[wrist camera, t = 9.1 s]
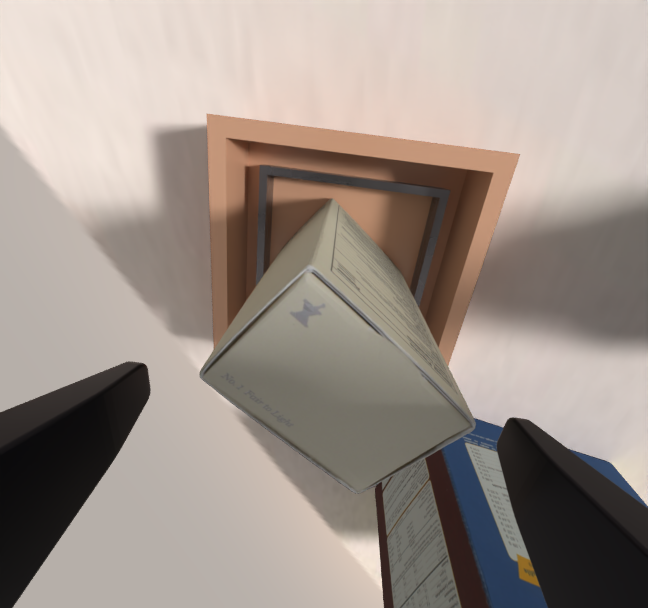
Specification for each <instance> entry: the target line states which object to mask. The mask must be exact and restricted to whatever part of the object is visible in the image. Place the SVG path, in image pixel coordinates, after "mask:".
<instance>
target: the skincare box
mask: <svg viewBox="0 0 648 608" xmlns="http://www.w3.org/2000/svg"><path fill="white" fill-rule="evenodd" d="M200 378H201V379H202V380H203V381H204V382H206V383H207V384H208V385H210V386H211V387H212V388H214V389H215V390H216V391H217V392H218V393H219V394H221V395H222V396H223V397H225V398H226V399H227V400H228V401H230V402H231V403H232V404H233V405H235V406H236V407H237V408H239V409H240V410H242V411H243V412H244V413H246V414H247V415H248V416H249V417H251V418H252V419H253V420H255V421H256V422H258V423H259V424H260V425H261V426H263V427H264V428H265V429H267V430H268V431H270V432H271V433H272V434H273V435H275V436H276V437H277V438H279V439H280V440H282V441H283V442H285V443H286V444H287V445H289V446H290V447H291V448H292V449H293V450H295V451H297V452H298V453H299V454H301V455H302V456H304V457H305V458H306V459H308V460H309V461H310V462H312V463H313V464H314V465H316V466H317V467H319V468H320V469H322V470H323V471H324V472H326V473H327V474H328V475H330V476H331V477H333V478H334V479H335V480H337V481H338V482H339V483H341V484H342V485H344V486H345V487H346V488H348V489H349V490H351V491H352V492H354V493H362V492H364V491H365V490H368V489H370V488H372V487H373V486H375V485H377V484H378V483H380V482H382V481H384V480H386V479H388V478H389V477H391V476H393V475H395V474H397V473H399V472H401V471H402V470H404V469H406V468H408V467H410V466H412V465H413V464H415V463H416V462H418V461H420V460H422V459H424V458H426V457H428V456H430V455H431V454H433V453H435V452H436V451H438V450H440V449H442V448H443V447H445V446H447V445H448V444H450V443H452V442H454V441H456V440H458V439H460V438H461V437H463V436H465V435H466V434H468V433H470V432H472V431H473V430H474V429H475V426H476V422H475V420H474V418H473V416H472V414H471V412H470V410H469V408H468V406H467V404H466V402H465V400H464V398H463V396H462V394H461V392H460V390H459V388H458V386H457V384H456V382H455V380H454V378H453V376H452V374H451V372H450V370H449V368H448V366H447V364H446V362H445V360H444V358H443V356H442V354H441V352H440V350H439V348H438V346H437V344H436V342H435V340H434V338H433V336H432V334H431V332H430V330H429V327H428V325H427V323H426V321H425V319H424V317H423V315H422V313H421V311H420V309H419V307H418V305H417V303H416V301H415V299H414V297H413V295H412V293H411V291H410V289H409V287H408V285H407V283H406V281H405V279H404V277H403V275H402V273H401V271H400V270H399V269H398V268H397V267H396V265H395V264H394V263H393V262H392V261H391V260H390V258H389V257H388V256H387V255H386V254H385V253H384V252H383V251H382V250H381V248H380V247H379V246H378V245H377V244H376V243H375V242H374V241H373V240H372V238H371V237H370V236H369V235H368V234H367V233H366V232H365V231H364V230H363V229H362V228H361V227H360V225H359V224H358V223H357V222H356V221H355V220H354V219H353V218H352V217H351V216H350V215H349V214H348V213H347V212H346V211H345V210H344V209H343V208H342V207H341V206H340V205H339V204H338V203H337V202H336V201H335V200H334V199H333V198H331V199H329V200H328V201H327V202H326V203H325V204H324V205H323V206H322V207H321V208H320V209H319V210H318V211H317V212H316V213H315V214H314V215H313V216H312V217H311V218H310V219H309V220H308V221H307V222H306V223H305V224H304V225H303V226H302V227H301V228H300V229H299V230H298V231H297V232H296V233H295V235H294V236H293V237H292V238H291V239H290V240H289V241H288V242H287V243H286V244H285V245H284V247H283V248H282V249H281V251H280V252H279V254H278V255H277V257H276V258H275V259H274V261H273V262H272V264H271V265H270V267H269V268H268V270H267V271H266V273H265V274H264V275H263V277H262V278H261V280H260V281H259V283H258V284H257V286H256V287H255V289H254V290H253V292H252V293H251V295H250V296H249V297H248V299H247V300H246V302H245V303H244V305H243V307H242V308H241V309H240V311H239V312H238V314H237V315H236V317H235V318H234V320H233V321H232V323H231V324H230V326H229V327H228V329H227V331H226V332H225V333H224V335H223V336H222V338H221V340H220V341H219V343H218V344H217V346H216V347H215V349H214V350H213V352H212V354H211V355H210V357H209V358H208V360H207V361H206V363H205V364H204V366H203V367H202V369H201V371H200Z"/></svg>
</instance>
